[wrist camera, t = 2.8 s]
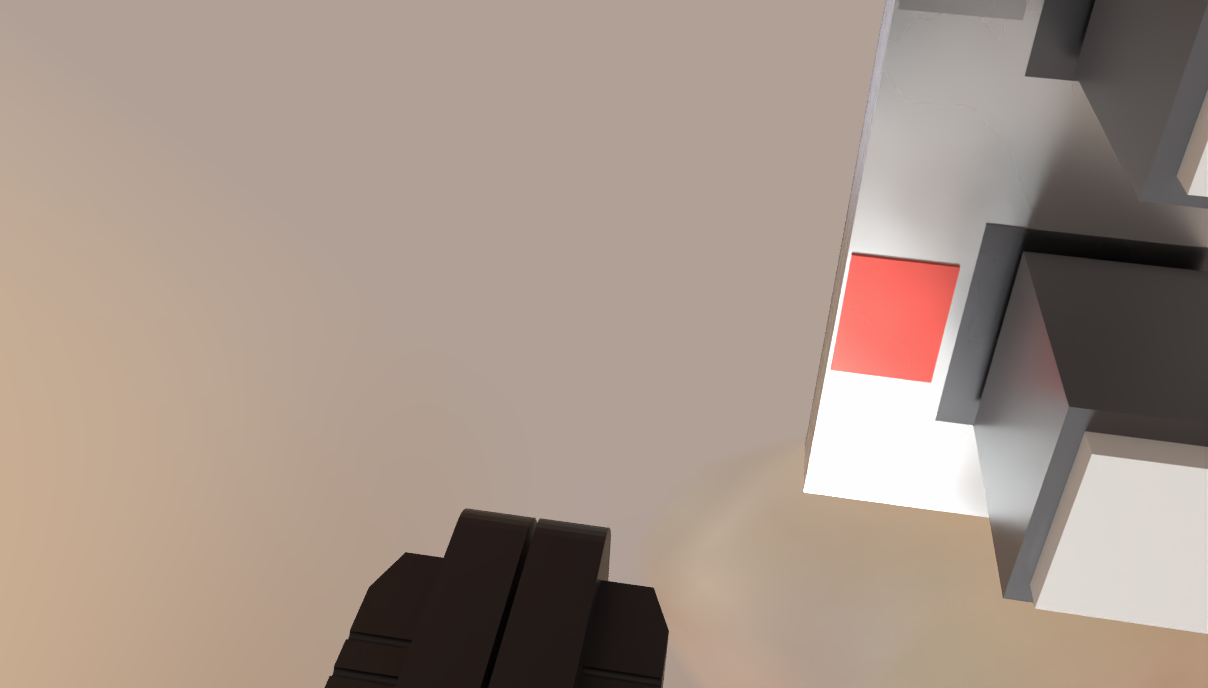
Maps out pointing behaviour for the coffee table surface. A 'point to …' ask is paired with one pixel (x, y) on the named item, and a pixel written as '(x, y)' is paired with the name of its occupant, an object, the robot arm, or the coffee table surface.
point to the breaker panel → (962, 237)
